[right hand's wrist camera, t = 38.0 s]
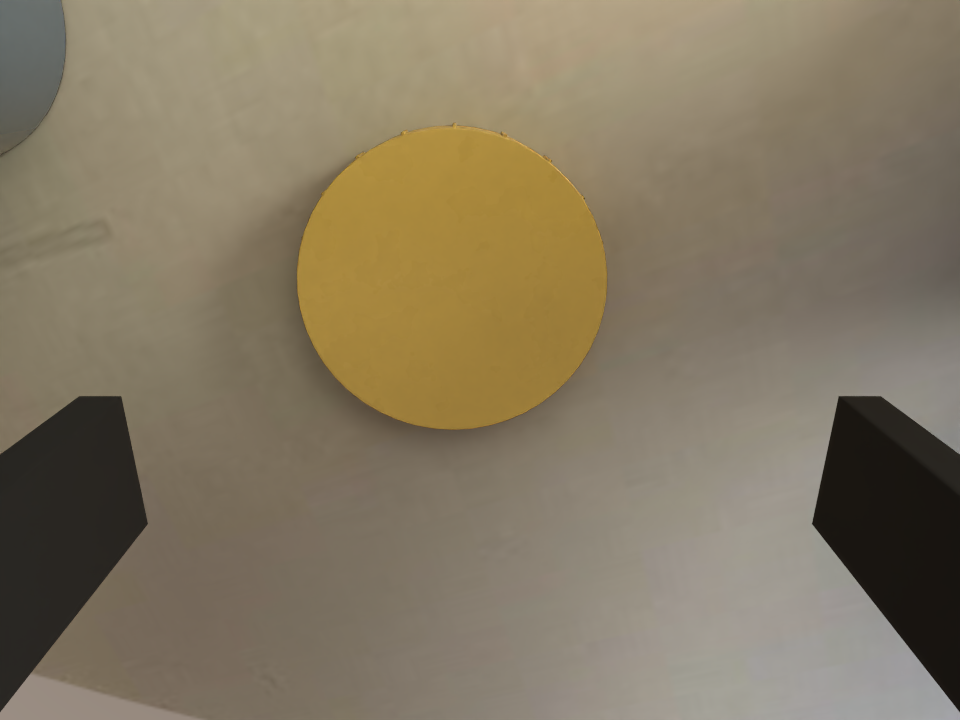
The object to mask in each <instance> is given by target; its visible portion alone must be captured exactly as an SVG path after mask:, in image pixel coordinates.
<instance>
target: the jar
mask: <svg viewBox="0 0 960 720" xmlns="http://www.w3.org/2000/svg"><path fill="white" fill-rule="evenodd" d="M65 45H66V34H65V23H64V13H63V9H62V4H61V0H0V154H2V153H4V152H6V151H8V150H11V149H12V148H13V147H15V146H16V145H18V144H19V143H20V142H22V141H23V140H25V139H26V138H27V137H28V136H29V135H30V134H31V133H32V132H33V131H34V130H35V129H36V128H37V127H38V125H39V124H40V122H41V121H42V120H43V118H44V117H45V115H46V114H47V112H48V111H49V109H50V107H51V105H52V103H53V101H54V99H55V97H56V94H57V91H58V88H59V85H60V81H61V78H62V73H63V67H64V61H65Z"/></svg>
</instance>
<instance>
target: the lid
mask: <svg viewBox="0 0 960 720" xmlns="http://www.w3.org/2000/svg"><path fill="white" fill-rule="evenodd" d="M355 158H356V160H355V161H353V162H352V163H351V164H350V165H349V166H348V167H347V168H346V169H345V170H343V171H342V172H341V173H340V174H339V175H338V176H337V177H336V178H335V180H334V181H333V182H332V183H331V184H330V186H329V187H328V188H327V189H326V190H325V191H323V192H322V193H321V195H322V196H321V198H320V200H319V201H318V203H317V205H316V206H315V208H314V210H313V211H312V214H311V216H310V218H309V221H308V223H307V225H306V228H305V230H304V234H303V237H302V239H301V240H302V242H301V245H300V249H299V256H298V264H297V292H298V299H299V306H300V311H301V314H302V318H303V321H304V325H305V328H306V330H307V333H308V335H309V337H310V339H311V342H312V344H313V346H314V348H315V349H316V351H317V353H318V354H319V356H320V358H321V359H322V361H323V363H324V364H325V365H326V366H327V368H328V369H329V370H330V372H331V373H332V374H333V375H334V377H335V378H336V379H337V380H338V381H339V382H340V383H341V384H342V385H343V386H344V387H345V388H346V389H347V390H348V391H350V392H351V393H352V394H353V395H355V396H356V397H357V398H359V399H360V400H361V401H363V402H364V403H366V404H367V405H369V406H371V407H372V408H374V409H376V410H377V411H379V412H381V413H383V414H386V415H388V416H390V417H392V418H395V419H397V420H400V421H403V422H406V423H410V424H413V425H417V426H422V427H428V428H433V429H449V430H457V429H472V428H478V427H484V426H489V425H493V424H496V423H500V422H503V421H506V420H509V419H511V418H514V417H516V416H518V415H520V414H523V413H525V412H527V411H528V410H530V409H532V408H533V407H535V406H537V405H539V404H540V403H542V402H543V401H544V400H546V399H547V398H548V397H550V396H551V395H552V394H554V393H555V392H556V391H557V390H558V389H559V388H560V387H561V386H562V385H563V384H564V383H565V382H566V381H567V380H568V379H569V378H570V377H571V376H572V374H573V373H574V372H575V371H576V369H577V368H578V367H579V366H580V364H581V363H582V361H583V359H584V358H585V356H586V355H587V353H588V351H589V350H590V348H591V346H592V344H593V341H594V339H595V337H596V335H597V332H598V330H599V326H600V323H601V320H602V316H603V313H604V307H605V301H606V295H607V267H606V258H605V252H604V248H603V241H602V240H601V236H600V233H599V230H598V228H597V225H596V223H595V220H594V218H593V215H592V214H591V212H590V210H589V208H588V207H587V205H586V203H585V201H584V199H585V198H584V196H582V195H581V194H580V193H579V192H578V191H577V190H576V189H575V187H574V186H573V185H572V183H571V182H570V181H569V180H568V179H567V178H566V177H565V176H564V175H563V174H562V173H561V172H560V171H559V170H558V169H557V168H556V167H555V166H554V165H552V164H551V162H552V160H550V159H549V158H548V157H546V156H545V155H544V156H543V157H542V156H540V155H539V154H538V153H536V152H535V151H533V150H532V149H531V148H529V147H527V146H525V145H523V144H522V143H520V142H518V141H516V140H514V139H512V138H509V137H507V134H505V133H504V132H501V134H499V133H496V132H493V131H489V130H485V129H480V128H476V127H467V126H456V123H453V125H452V126H434V127H428V128H423V129H418V130H413V131H410V132H408V131H407V130H405V131H403V132H401V135H399V136H396V137H393V138H392V139H390V140H388V141H386V142H384V143H382V144H380V145H378V146H376V147H374V148H373V149H371V150H369V151H368V152H366V153H364V152H362V153H361V154H359V155H357V156H356V157H355Z"/></svg>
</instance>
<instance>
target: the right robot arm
mask: <svg viewBox="0 0 960 720" xmlns="http://www.w3.org/2000/svg"><path fill="white" fill-rule="evenodd" d="M147 524H148V522H147V518H146V513H145V508H144V503H143V498H142V494H141V489H140V484H139V479H138V475H137V470H136V465H135V460H134V455H133V451H132V446H131V441H130V436H129V431H128V427H127V422H126V417H125V412H124V408H123V403H122V398H121V396H79V397H78V398H76V399H75V400H74V401H72V402H71V403H70V404H68V405H67V406H66V407H64V408H63V409H61V410H60V411H59V412H57V413H56V414H55V415H53V416H52V417H51V418H49V419H48V420H47V421H45V422H44V423H42V424H41V425H40V426H38V427H37V428H36V429H34V430H33V431H32V432H30V433H29V434H28V435H26V436H25V437H24V438H22V439H21V440H19V441H18V442H17V443H15V444H14V445H13V446H11V447H10V448H9V449H7V450H6V451H5V452H3V453H2V454H0V712H1V710H2V709H3V708H4V706H5V705H6V704H7V703H8V701H9V700H10V699H11V697H12V696H13V695H14V694H15V692H16V691H17V690H18V689H19V687H20V686H21V685H22V684H23V682H24V681H25V680H26V678H27V677H28V676H29V675H30V673H31V672H32V671H33V670H34V668H35V667H36V666H37V664H38V663H39V662H40V661H41V659H42V658H43V657H44V656H45V654H46V653H47V652H48V650H49V649H50V648H51V647H52V645H53V644H54V643H55V642H56V640H57V639H58V638H59V636H60V635H61V634H62V633H63V631H64V630H65V629H66V628H67V626H68V625H69V624H70V622H71V621H72V620H73V619H74V617H75V616H76V615H77V614H78V612H79V611H80V610H81V608H82V607H83V606H84V605H85V603H86V602H87V601H88V600H89V598H90V597H91V596H92V594H93V593H94V592H95V591H96V589H97V588H98V587H99V585H100V584H101V583H102V582H103V580H104V579H105V578H106V577H107V575H108V574H109V573H110V571H111V570H112V569H113V568H114V566H115V565H116V564H117V563H118V561H119V560H120V559H121V557H122V556H123V555H124V554H125V552H126V551H127V550H128V549H129V547H130V546H131V545H132V543H133V542H134V541H135V540H136V538H137V537H138V536H139V535H140V533H141V532H142V531H143V529H144V528H145V527H146V526H147ZM812 524H813V526H814V527H815V528H816V529H817V531H818V532H819V533H820V535H821V536H822V537H823V538H824V540H825V541H826V542H827V543H828V545H829V546H830V547H831V549H832V550H833V551H834V552H835V554H836V555H837V556H838V557H839V559H840V560H841V561H842V563H843V564H844V565H845V566H846V568H847V569H848V570H849V571H850V573H851V574H852V575H853V577H854V578H855V579H856V580H857V582H858V583H859V584H860V585H861V587H862V588H863V589H864V591H865V592H866V593H867V594H868V596H869V597H870V598H871V600H872V601H873V602H874V603H875V605H876V606H877V607H878V608H879V610H880V611H881V612H882V614H883V615H884V616H885V617H886V619H887V620H888V621H889V622H890V624H891V625H892V626H893V628H894V629H895V630H896V631H897V633H898V634H899V635H900V636H901V638H902V639H903V640H904V642H905V643H906V644H907V645H908V647H909V648H910V649H911V650H912V652H913V653H914V654H915V656H916V657H917V658H918V659H919V661H920V662H921V663H922V664H923V666H924V667H925V668H926V670H927V671H928V672H929V673H930V675H931V676H932V677H933V678H934V680H935V681H936V682H937V684H938V685H939V686H940V687H941V689H942V690H943V691H944V692H945V694H946V695H947V696H948V698H949V699H950V700H951V701H952V703H953V704H954V705H955V706H956V708H957V709H958V710H959V712H960V454H958V453H957V452H955V451H954V450H953V449H951V448H950V447H949V446H947V445H946V444H945V443H943V442H942V441H941V440H939V439H938V438H936V437H935V436H934V435H932V434H931V433H930V432H928V431H927V430H926V429H924V428H923V427H922V426H920V425H919V424H918V423H916V422H915V421H913V420H912V419H911V418H909V417H908V416H907V415H905V414H904V413H903V412H901V411H900V410H899V409H897V408H896V407H894V406H893V405H892V404H890V403H889V402H888V401H886V400H885V399H884V398H882V397H881V396H839V398H838V403H837V408H836V412H835V417H834V422H833V427H832V432H831V436H830V441H829V446H828V451H827V455H826V460H825V465H824V470H823V475H822V479H821V484H820V489H819V494H818V498H817V503H816V508H815V513H814V518H813V522H812Z"/></svg>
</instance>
